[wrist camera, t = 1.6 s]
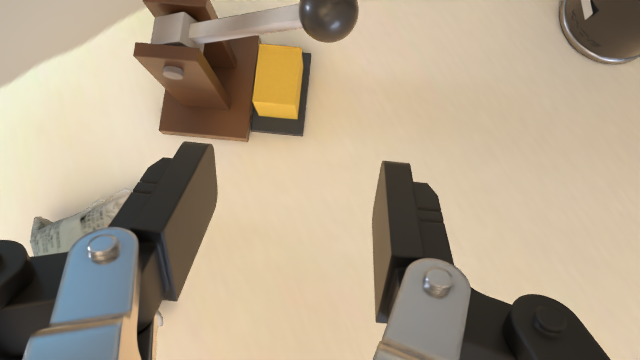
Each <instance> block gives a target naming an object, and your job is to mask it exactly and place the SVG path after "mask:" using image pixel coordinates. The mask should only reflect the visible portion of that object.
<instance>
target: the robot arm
mask: <svg viewBox="0 0 640 360" xmlns="http://www.w3.org/2000/svg"><path fill="white" fill-rule="evenodd" d="M560 23H561V27H562V30H563V32H564V35H565V36H566V38H567V40H568V41H569V42H570V44H571V45H572V46H573V47H574V48H575V49H576V50H577V51H578V52H580V53H581V54H582V55H584V56H586V57H587V58H589V59H591V60H594V61H597V62H600V63H605V64H621V63H626V62H629V61H632V60H634V59H636V58H638V57H640V0H562V2H561V6H560ZM216 202H217V178H216V167H215V156H214V148H213V146H212V144H206V143H195V142H183V143H182V144H181V146H180V148H179V149H178V151H177V152H176V154H175V156H174V157H173V158H164V157H163V158H162V159H160V160H159V161H157V162H156V163H154V164H153V165H151V166H150V167H148V169H147V170H146V172H145V173H144V175H143V176H142V178H141V179H140V182H138V183H137V185H136V186H135V188H134V189H133V193H132V192H131V194H130V195H129V197H128V198H127V200H126V201H125V202H124V204H123V205H122V207H121V208H120V210H119V211H118V213H117V214H116V216H115V217H114V218H113V220H112V221H111V223H110V224H109V226H108V227H107V228H101V229H97V230H94V231H92V232H89V233H87V234H85V235H84V236H82V237H81V238H79V239H78V240H77V241H76V242H75V243H74V244H73V245H72V247H71V248H70V250H69V251H68V252H63V253H56V254H49V255H41V256H34V257H29V256H28V253H27V251H26V249H25V248H24V246H23V245H21V244H20V243H18V242H15V241H10V240H0V360H156V349H157V325H158V321H157V315H156V312H157V310H158V308H159V305H160V303H161V301H162V300H168V301H177V300H178V298H179V295H180V293H181V290H182V288H183V286H184V283H185V281H186V278H187V276H188V273H189V271H190V269H191V266H192V264H193V261H194V259H195V256H196V254H197V252H198V249H199V247H200V244H201V242H202V240H203V237H204V235H205V232H206V230H207V227H208V225H209V223H210V220H211V218H212V215H213V213H214V210H215V207H216ZM443 221H444V220H443V216H442V212H441V208H440V203H439V199H438V196H437V194H436V193H435V192H434V191H433V190H432V188H431V187H430V186H429V185H428V184H427V183H420V182H413V178H412V172H411V166H410V164H409V163H401V162H390V161H382V164H381V168H380V174H379V179H378V185H377V190H376V196H375V201H374V208H373V218H372V233H373V260H374V287H375V314H376V322H377V323H387V326H386V329H385V332H384V335H383V337H382V340H381V341H380V342H379V344H378V347H377V349H376V352H375V355H374V358H373V360H610V358H609V357H608V356H607V354H606V353H605V352H604V351H603V349H602V348H601V347H600V345H599V344H598V343H597V342H596V340H595V339H594V338H593V336H592V335H591V334H590V333H589V331H588V330H587V329H586V327H585V326H584V325H583V324H582V322H581V321H580V320H579V318H578V317H577V316H576V315H575V314H574V313H573V312H572V311H571V310H570V309H569V308H567V307H566V306H565V305H563V304H562V303H560V302H558V301H556V300H554V299H552V298H549V297H546V296H542V295H536V294H528V295H523V296H521V297H519V298H518V299H516V300H515V301H514V303H513V305H511V304H508V303H505V302H503V301H500V300H497V299H494V298H492V297H489V296H486V295H484V294H482V293H480V292H478V291H476V290H474V289H473V288H471V287H470V284H469V281H468V279H467V278H466V276H465V275H464V274H463V273H462V272H461V271H460V270H459V269H458V268H456V267H455V266H454V263H453V258H452V254H451V250H450V246H449V241H448V237H447V233H446V229H445V225H444V223H443Z"/></svg>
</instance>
